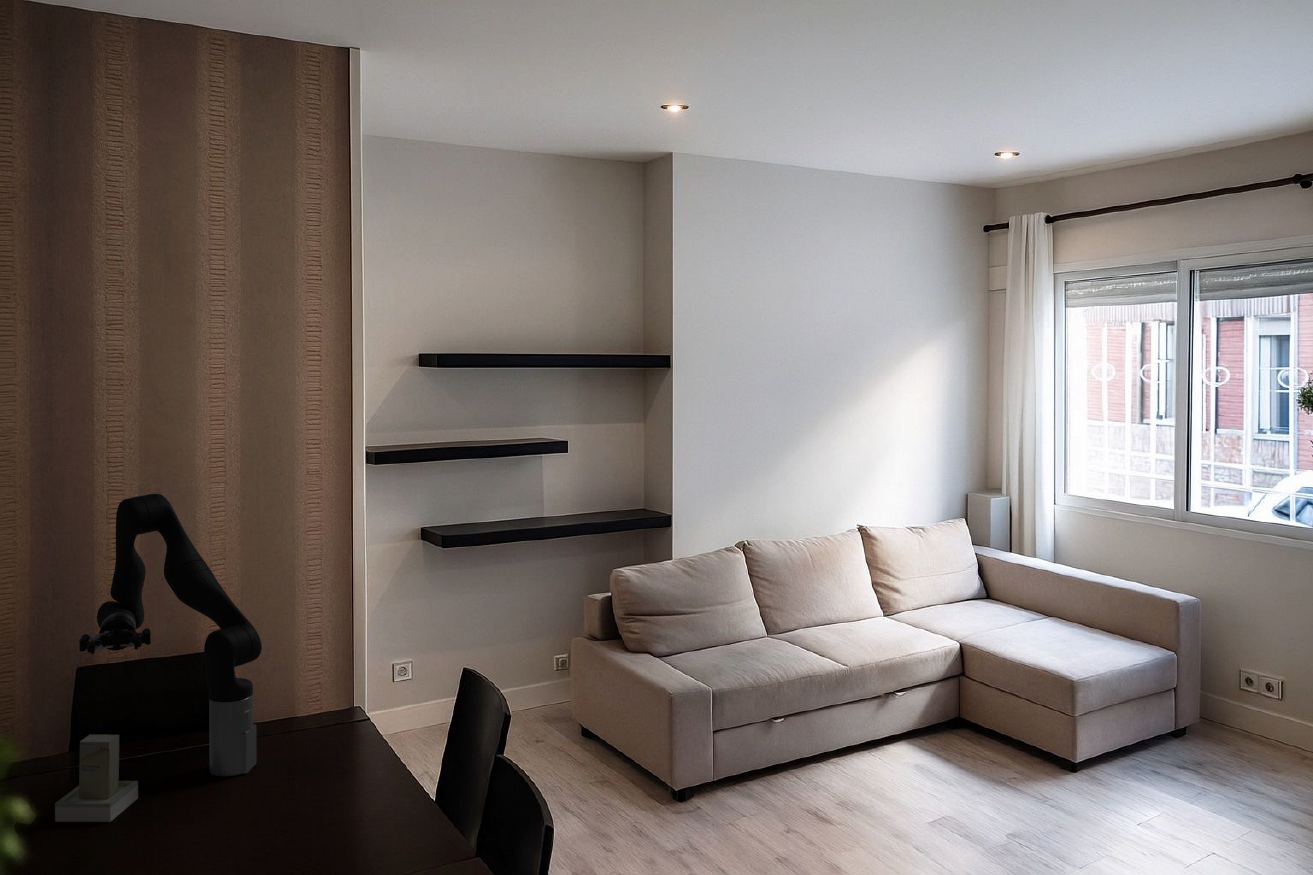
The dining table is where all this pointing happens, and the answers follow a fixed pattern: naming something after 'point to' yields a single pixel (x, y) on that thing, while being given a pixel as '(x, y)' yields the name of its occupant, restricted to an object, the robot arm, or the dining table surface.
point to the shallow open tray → (96, 805)
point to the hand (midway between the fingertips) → (114, 647)
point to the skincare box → (99, 766)
